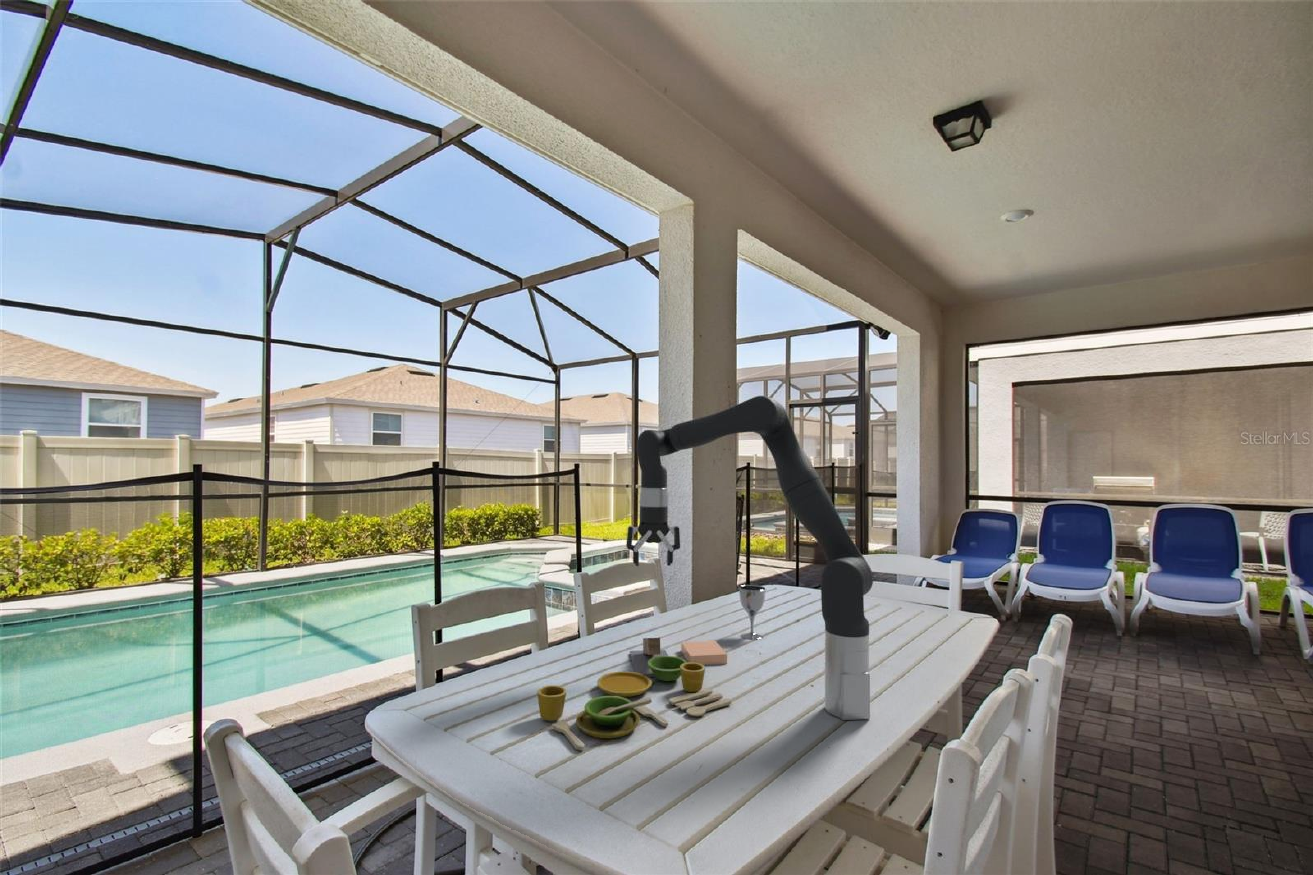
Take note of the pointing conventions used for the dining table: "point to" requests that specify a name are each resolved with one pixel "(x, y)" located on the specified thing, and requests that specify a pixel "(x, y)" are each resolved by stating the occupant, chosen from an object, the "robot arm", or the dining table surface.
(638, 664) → the rubber mat
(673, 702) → the tableware set
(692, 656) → the terracotta tile
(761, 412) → the robot arm
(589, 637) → the dining table surface
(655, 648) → the walnut stick
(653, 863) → the dining table surface
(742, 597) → the wine glass
